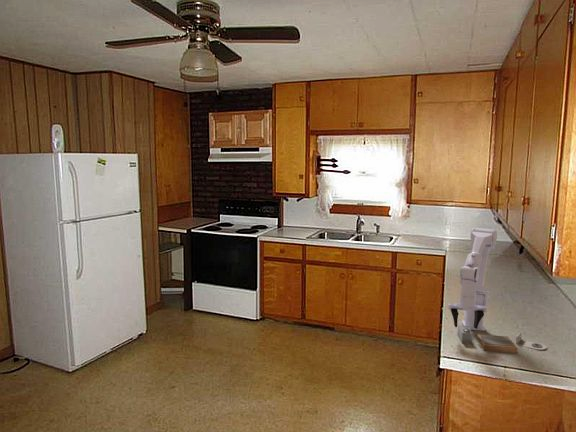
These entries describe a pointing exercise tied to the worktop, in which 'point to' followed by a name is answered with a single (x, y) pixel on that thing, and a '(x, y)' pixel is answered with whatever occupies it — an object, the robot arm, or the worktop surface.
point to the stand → (496, 343)
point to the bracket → (531, 344)
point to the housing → (465, 334)
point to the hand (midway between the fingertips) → (465, 327)
